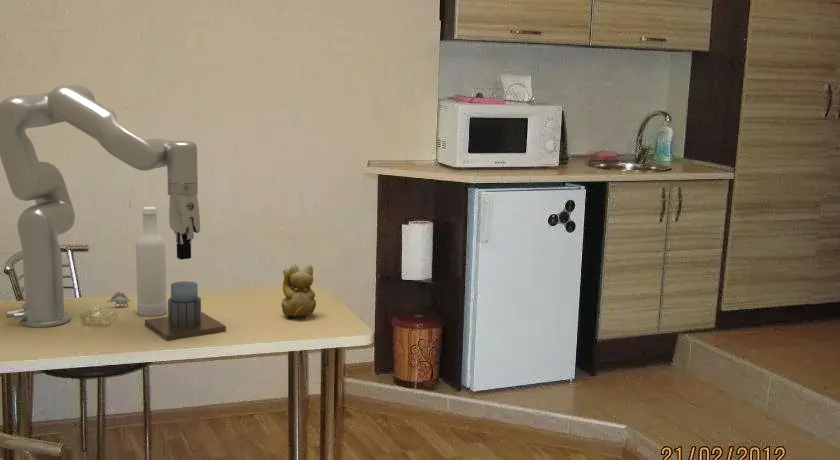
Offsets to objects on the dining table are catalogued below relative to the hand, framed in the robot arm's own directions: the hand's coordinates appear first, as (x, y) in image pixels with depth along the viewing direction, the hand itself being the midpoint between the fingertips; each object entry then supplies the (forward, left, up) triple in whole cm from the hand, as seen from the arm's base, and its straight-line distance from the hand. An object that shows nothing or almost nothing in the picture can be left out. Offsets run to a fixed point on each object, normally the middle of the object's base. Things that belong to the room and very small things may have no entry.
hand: (184, 258), depth 228 cm
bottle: (-2, +19, -19) cm, 27 cm away
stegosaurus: (-8, +29, -19) cm, 36 cm away
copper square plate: (0, 0, -19) cm, 19 cm away
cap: (0, 0, -15) cm, 15 cm away
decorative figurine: (+31, -6, -19) cm, 37 cm away
